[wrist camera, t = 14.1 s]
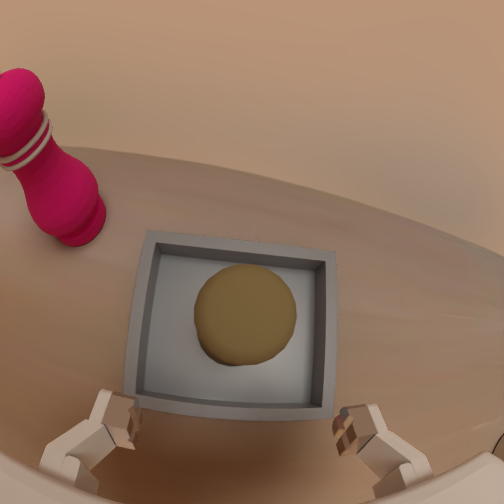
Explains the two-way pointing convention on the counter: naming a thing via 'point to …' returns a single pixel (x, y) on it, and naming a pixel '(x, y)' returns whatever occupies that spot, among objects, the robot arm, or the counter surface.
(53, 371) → the counter surface
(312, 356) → the tray
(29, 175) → the pepper mill
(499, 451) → the travel mug
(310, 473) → the counter surface
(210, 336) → the brown pawn
